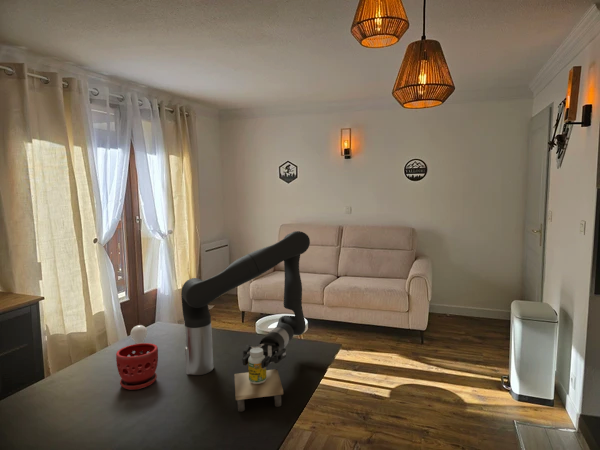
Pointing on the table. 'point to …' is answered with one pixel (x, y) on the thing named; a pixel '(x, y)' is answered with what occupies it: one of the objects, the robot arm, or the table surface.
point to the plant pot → (137, 365)
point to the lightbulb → (139, 334)
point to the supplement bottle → (256, 366)
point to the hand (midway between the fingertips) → (253, 363)
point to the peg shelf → (257, 388)
